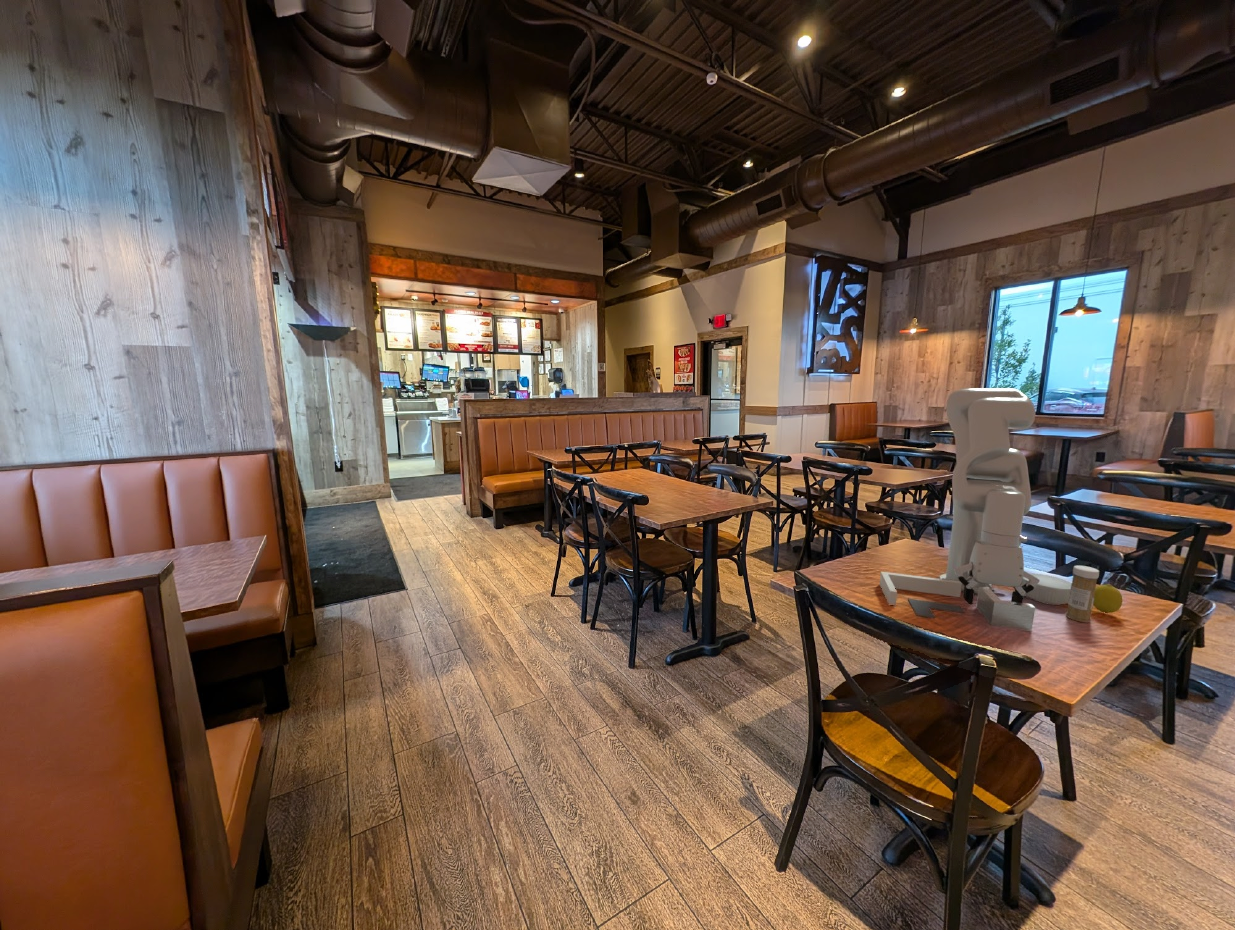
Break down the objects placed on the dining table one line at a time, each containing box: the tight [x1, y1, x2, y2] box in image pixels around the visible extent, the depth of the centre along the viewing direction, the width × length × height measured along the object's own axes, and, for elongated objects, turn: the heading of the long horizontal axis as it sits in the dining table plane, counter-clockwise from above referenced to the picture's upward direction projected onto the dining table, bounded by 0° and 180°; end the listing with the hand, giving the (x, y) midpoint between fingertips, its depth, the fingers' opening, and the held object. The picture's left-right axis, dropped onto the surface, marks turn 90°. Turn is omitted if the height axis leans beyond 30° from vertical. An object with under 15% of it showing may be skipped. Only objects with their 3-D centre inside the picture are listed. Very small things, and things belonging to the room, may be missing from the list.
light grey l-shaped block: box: [879, 571, 962, 607], centre depth 128 cm, size 20×15×4 cm
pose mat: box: [907, 598, 966, 619], centre depth 122 cm, size 12×10×1 cm
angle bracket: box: [975, 586, 1036, 632], centre depth 118 cm, size 10×8×6 cm
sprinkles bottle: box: [1065, 565, 1100, 623], centre depth 118 cm, size 5×5×13 cm
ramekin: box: [1021, 572, 1072, 605], centre depth 130 cm, size 11×11×5 cm
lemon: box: [1093, 583, 1123, 614], centre depth 121 cm, size 6×6×8 cm
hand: (991, 605), depth 118 cm, fingers open, 9 cm apart
